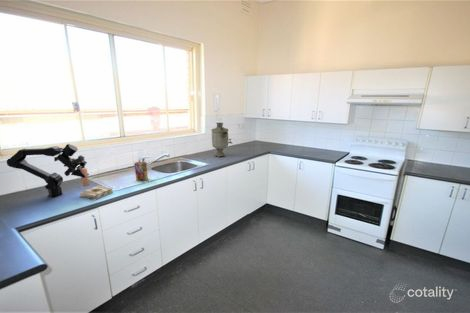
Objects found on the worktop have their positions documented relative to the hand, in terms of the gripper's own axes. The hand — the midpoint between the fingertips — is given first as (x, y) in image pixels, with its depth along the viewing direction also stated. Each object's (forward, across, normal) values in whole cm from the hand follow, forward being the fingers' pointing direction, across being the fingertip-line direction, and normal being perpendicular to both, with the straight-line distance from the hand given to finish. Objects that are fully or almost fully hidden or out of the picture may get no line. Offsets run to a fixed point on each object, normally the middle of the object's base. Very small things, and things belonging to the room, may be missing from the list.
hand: (86, 176), depth 160 cm
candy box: (+30, +30, -10) cm, 43 cm away
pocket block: (+13, 0, +6) cm, 14 cm away
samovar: (+80, +108, -62) cm, 148 cm away
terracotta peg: (+4, 0, +6) cm, 7 cm away
